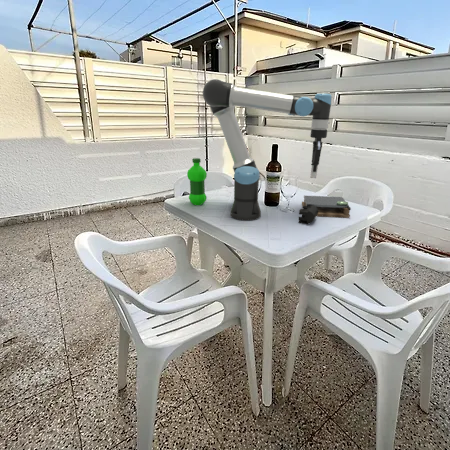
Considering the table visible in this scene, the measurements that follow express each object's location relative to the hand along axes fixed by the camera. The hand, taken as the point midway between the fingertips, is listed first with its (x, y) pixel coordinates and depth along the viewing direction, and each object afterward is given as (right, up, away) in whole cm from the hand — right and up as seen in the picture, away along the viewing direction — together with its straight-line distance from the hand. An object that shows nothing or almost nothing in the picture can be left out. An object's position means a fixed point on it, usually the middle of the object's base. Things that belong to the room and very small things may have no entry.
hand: (313, 177), depth 149 cm
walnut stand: (+7, -16, +5) cm, 19 cm away
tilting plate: (+7, -12, +4) cm, 14 cm away
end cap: (-5, -22, -9) cm, 25 cm away
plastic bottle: (-60, -12, +16) cm, 63 cm away
